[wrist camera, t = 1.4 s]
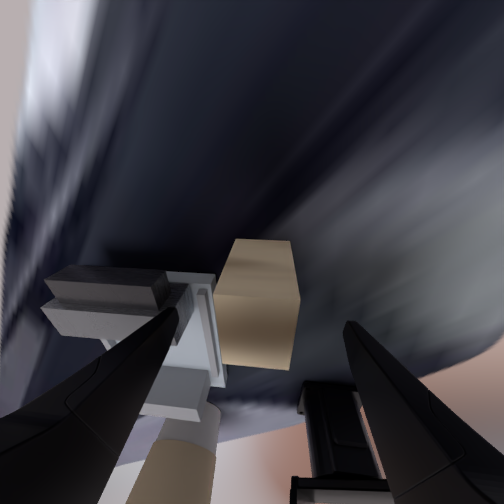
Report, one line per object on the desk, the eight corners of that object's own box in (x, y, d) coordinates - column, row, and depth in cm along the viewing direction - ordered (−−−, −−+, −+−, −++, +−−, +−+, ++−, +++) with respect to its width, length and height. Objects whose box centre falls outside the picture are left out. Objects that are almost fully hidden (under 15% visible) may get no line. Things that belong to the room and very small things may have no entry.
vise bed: (227, 375, 21) (217, 426, 17) (135, 365, 22) (106, 412, 18) (215, 274, 14) (193, 321, 10) (82, 266, 15) (17, 306, 11)
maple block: (283, 297, 15) (288, 370, 10) (238, 294, 15) (222, 363, 10) (289, 240, 12) (300, 300, 7) (235, 238, 13) (212, 294, 8)
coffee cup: (172, 385, 23) (46, 686, 10) (238, 407, 24) (199, 703, 11) (160, 411, 28) (59, 646, 15) (216, 429, 29) (169, 661, 16)
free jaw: (194, 309, 14) (176, 346, 12) (98, 302, 15) (61, 335, 12) (184, 262, 12) (160, 293, 10) (73, 256, 13) (22, 284, 10)
